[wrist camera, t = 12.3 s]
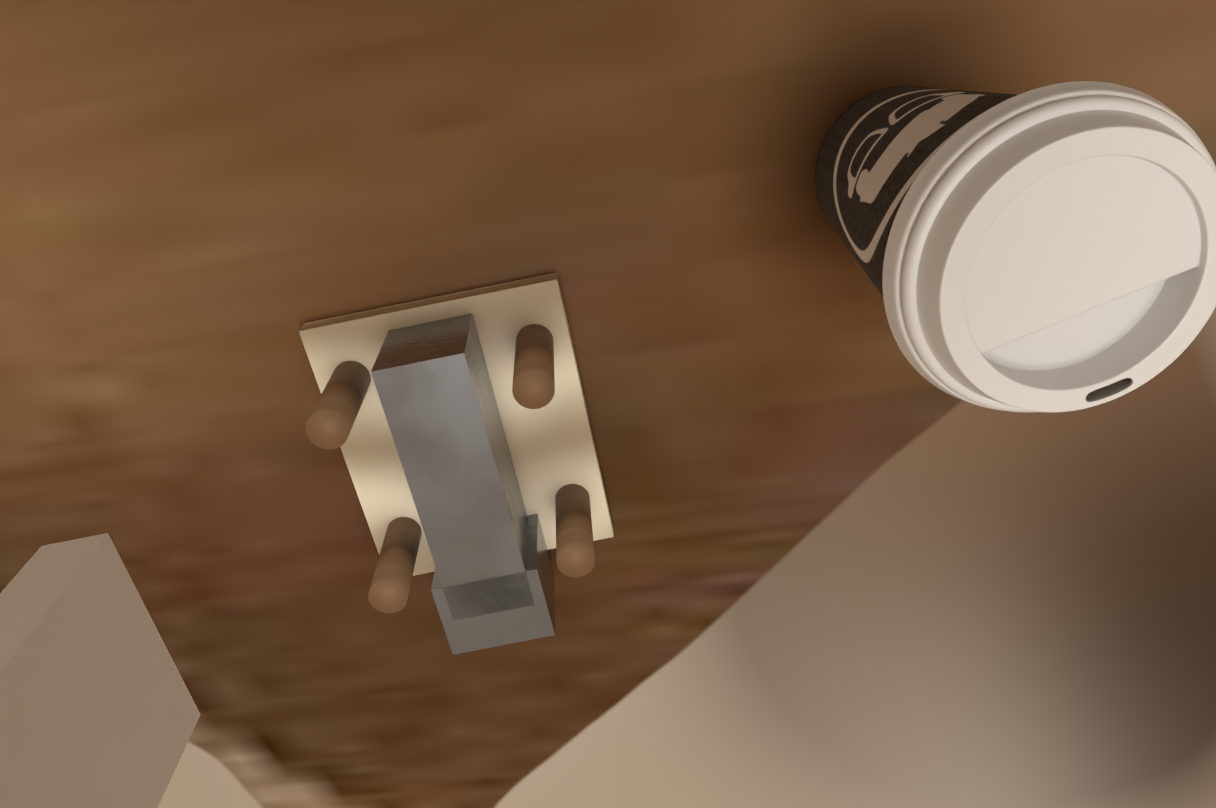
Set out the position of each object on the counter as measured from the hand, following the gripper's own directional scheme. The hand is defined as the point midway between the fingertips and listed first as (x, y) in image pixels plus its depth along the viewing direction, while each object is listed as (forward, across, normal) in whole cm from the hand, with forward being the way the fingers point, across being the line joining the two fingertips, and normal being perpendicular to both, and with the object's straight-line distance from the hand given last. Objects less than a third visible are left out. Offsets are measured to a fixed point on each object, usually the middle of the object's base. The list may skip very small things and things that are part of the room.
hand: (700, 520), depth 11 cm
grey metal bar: (+28, -8, -12) cm, 31 cm away
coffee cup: (+29, +12, -4) cm, 32 cm away
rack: (+29, -8, -12) cm, 32 cm away
